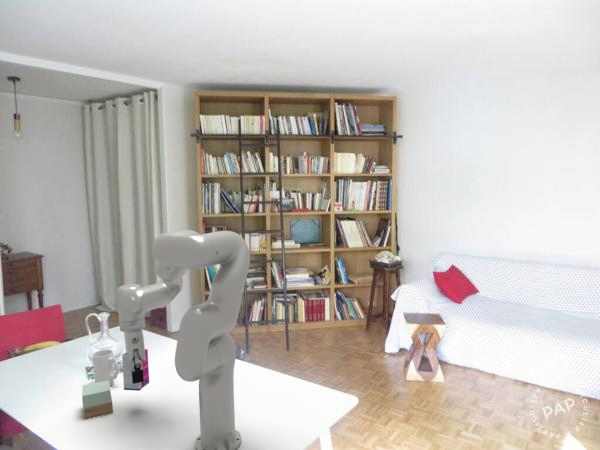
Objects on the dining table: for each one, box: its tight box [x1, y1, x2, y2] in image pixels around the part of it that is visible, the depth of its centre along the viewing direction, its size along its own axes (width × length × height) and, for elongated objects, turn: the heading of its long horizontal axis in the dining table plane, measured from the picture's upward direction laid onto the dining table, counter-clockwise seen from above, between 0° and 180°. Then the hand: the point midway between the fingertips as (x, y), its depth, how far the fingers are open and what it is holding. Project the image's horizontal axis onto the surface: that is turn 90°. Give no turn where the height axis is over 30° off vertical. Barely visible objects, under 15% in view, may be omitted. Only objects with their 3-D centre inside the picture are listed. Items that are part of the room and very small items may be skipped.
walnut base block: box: [83, 391, 114, 420], centre depth 140 cm, size 8×8×4 cm
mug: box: [92, 348, 120, 387], centre depth 157 cm, size 10×7×12 cm, turn 70°
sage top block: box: [81, 380, 112, 409], centre depth 140 cm, size 8×8×4 cm
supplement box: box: [121, 348, 150, 391], centre depth 138 cm, size 6×6×12 cm
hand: (136, 377), depth 138 cm, fingers closed on supplement box, 7 cm apart
